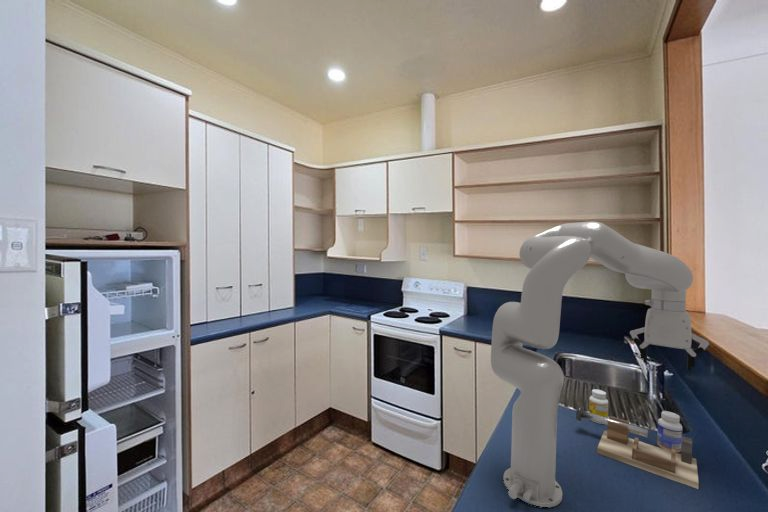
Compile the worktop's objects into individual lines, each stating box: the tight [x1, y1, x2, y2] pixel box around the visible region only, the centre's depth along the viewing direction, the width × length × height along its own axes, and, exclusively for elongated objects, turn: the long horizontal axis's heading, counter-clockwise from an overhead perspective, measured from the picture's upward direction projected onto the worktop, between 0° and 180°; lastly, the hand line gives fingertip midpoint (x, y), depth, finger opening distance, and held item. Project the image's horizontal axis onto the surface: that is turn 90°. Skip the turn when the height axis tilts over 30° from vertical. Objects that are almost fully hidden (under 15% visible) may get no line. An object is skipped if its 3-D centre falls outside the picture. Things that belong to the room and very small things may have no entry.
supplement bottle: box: [588, 388, 609, 425], centre depth 111 cm, size 5×5×10 cm
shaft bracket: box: [596, 415, 700, 490], centre depth 90 cm, size 12×20×7 cm, turn 49°
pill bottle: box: [656, 410, 683, 453], centre depth 96 cm, size 5×5×10 cm
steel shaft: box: [575, 405, 649, 438], centre depth 99 cm, size 4×17×4 cm, turn 49°
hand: (666, 365), depth 96 cm, fingers open, 9 cm apart
